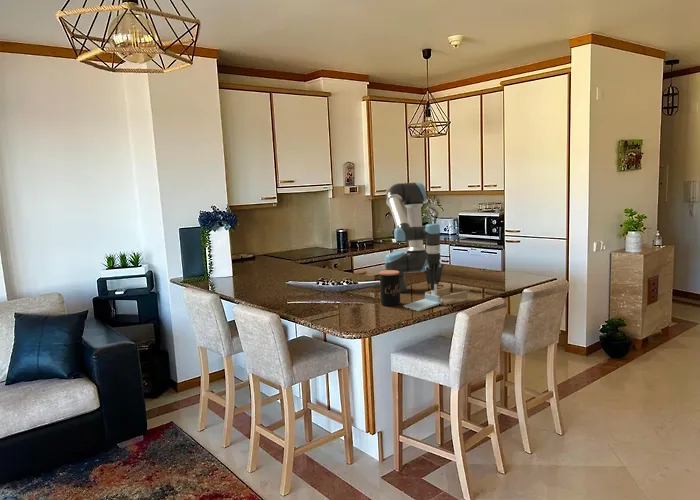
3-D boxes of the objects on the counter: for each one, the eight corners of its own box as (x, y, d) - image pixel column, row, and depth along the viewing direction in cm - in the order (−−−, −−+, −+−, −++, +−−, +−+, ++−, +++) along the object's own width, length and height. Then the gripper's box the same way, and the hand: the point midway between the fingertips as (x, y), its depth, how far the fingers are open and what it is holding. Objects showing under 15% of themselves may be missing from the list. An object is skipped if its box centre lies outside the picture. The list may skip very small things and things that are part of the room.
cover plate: (403, 307, 284) (403, 300, 284) (426, 299, 294) (426, 292, 293) (418, 311, 275) (418, 303, 274) (441, 303, 285) (441, 296, 284)
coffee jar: (384, 307, 286) (383, 274, 283) (378, 303, 296) (377, 271, 293) (403, 305, 289) (402, 272, 286) (396, 301, 299) (395, 269, 296)
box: (425, 301, 296) (425, 292, 295) (448, 295, 306) (448, 287, 305) (444, 305, 284) (443, 296, 284) (467, 299, 295) (467, 291, 294)
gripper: (429, 254, 279) (430, 299, 283) (446, 251, 287) (447, 294, 290) (419, 253, 285) (420, 296, 289) (436, 250, 293) (437, 292, 296)
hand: (434, 295), depth 289 cm, fingers closed
